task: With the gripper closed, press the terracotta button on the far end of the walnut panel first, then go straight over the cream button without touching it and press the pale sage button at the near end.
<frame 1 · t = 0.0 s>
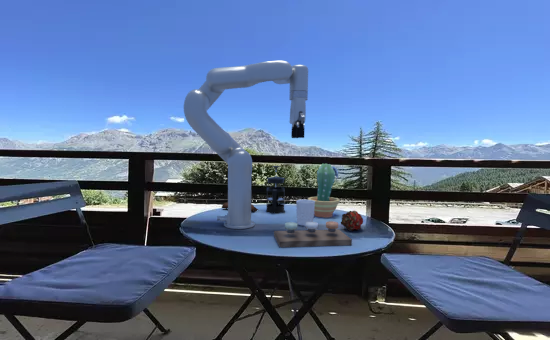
hand: (297, 137, 136), 37 cm above the table, tool pointing down, fingers open, 9 cm apart
button panel: (311, 240, 117), on the table
potted cactus: (323, 215, 158), on the table
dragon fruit: (351, 229, 133), on the table
terracotta button: (331, 234, 117), point 2 cm above the table, slide at 0.0 cm
white cup: (305, 224, 140), on the table
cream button: (311, 235, 116), point 2 cm above the table, slide at 0.0 cm
sunglasses case: (240, 211, 168), on the table
sage button: (290, 235, 115), point 2 cm above the table, slide at 0.0 cm
french press: (275, 212, 164), on the table
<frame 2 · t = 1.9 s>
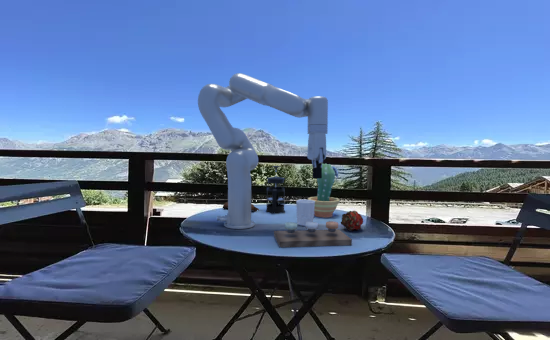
hand: (317, 178, 125), 21 cm above the table, tool pointing down, fingers closed
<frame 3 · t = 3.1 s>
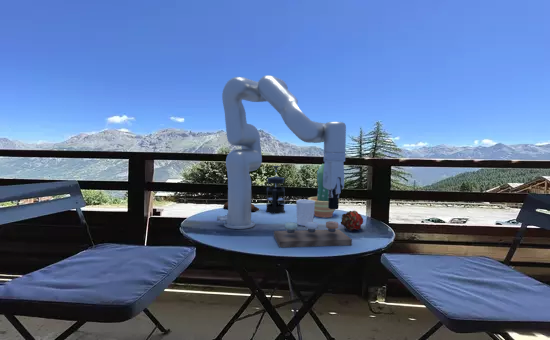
hand: (333, 208, 117), 12 cm above the table, tool pointing down, fingers closed
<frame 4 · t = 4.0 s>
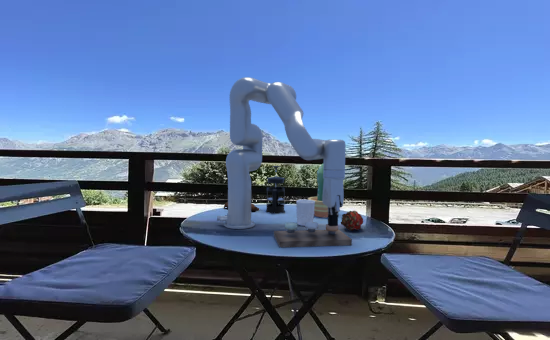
hand: (332, 225, 117), 5 cm above the table, tool pointing down, fingers closed
terracotta button: (331, 237, 118), point 1 cm above the table, slide at 0.9 cm, touching gripper
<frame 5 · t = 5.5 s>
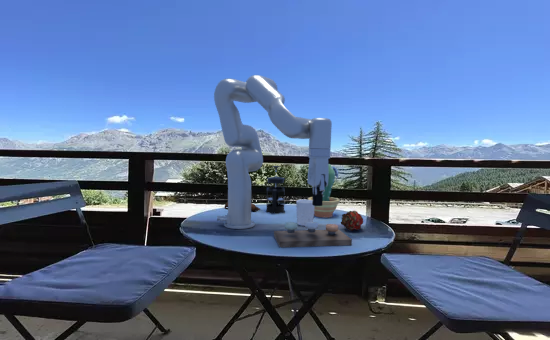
hand: (317, 205, 116), 13 cm above the table, tool pointing down, fingers closed
terracotta button: (331, 237, 118), point 1 cm above the table, slide at 1.0 cm
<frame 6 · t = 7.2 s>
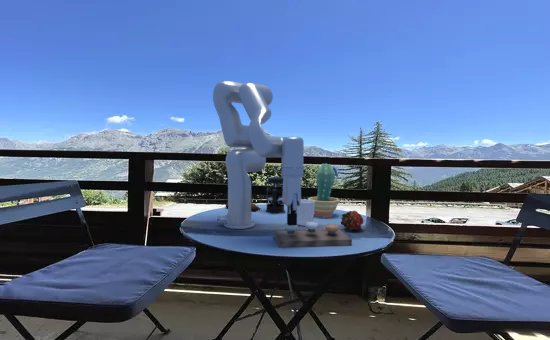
hand: (291, 224, 115), 6 cm above the table, tool pointing down, fingers closed
sage button: (290, 236, 115), point 2 cm above the table, slide at 0.3 cm, touching gripper
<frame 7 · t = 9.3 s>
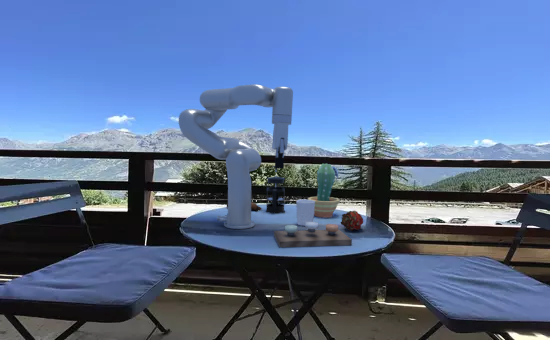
hand: (279, 168, 126), 25 cm above the table, tool pointing down, fingers closed
sage button: (290, 238, 115), point 1 cm above the table, slide at 1.0 cm
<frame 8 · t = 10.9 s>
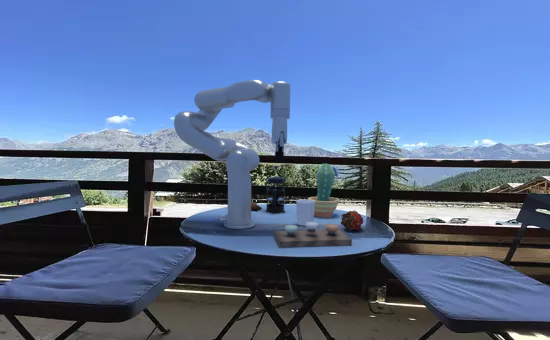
hand: (279, 161, 128), 27 cm above the table, tool pointing down, fingers closed
at the end: terracotta button slide at 1.0 cm; sage button slide at 1.0 cm; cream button slide at 0.0 cm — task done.
